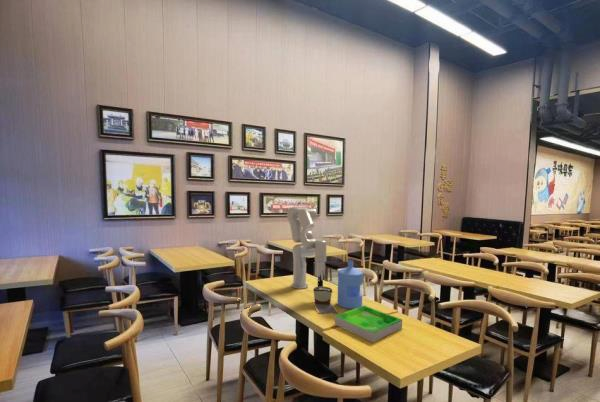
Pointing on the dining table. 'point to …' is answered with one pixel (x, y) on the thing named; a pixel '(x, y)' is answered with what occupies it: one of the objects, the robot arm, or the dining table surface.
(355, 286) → the water jug
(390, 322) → the tray
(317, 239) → the robot arm
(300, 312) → the dining table surface
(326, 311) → the mat
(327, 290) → the food container
